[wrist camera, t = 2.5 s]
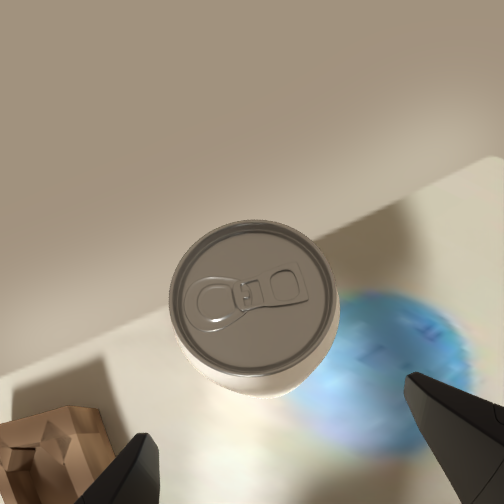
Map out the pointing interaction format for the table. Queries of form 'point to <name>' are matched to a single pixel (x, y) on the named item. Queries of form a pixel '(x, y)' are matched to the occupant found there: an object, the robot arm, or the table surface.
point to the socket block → (52, 455)
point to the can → (254, 307)
